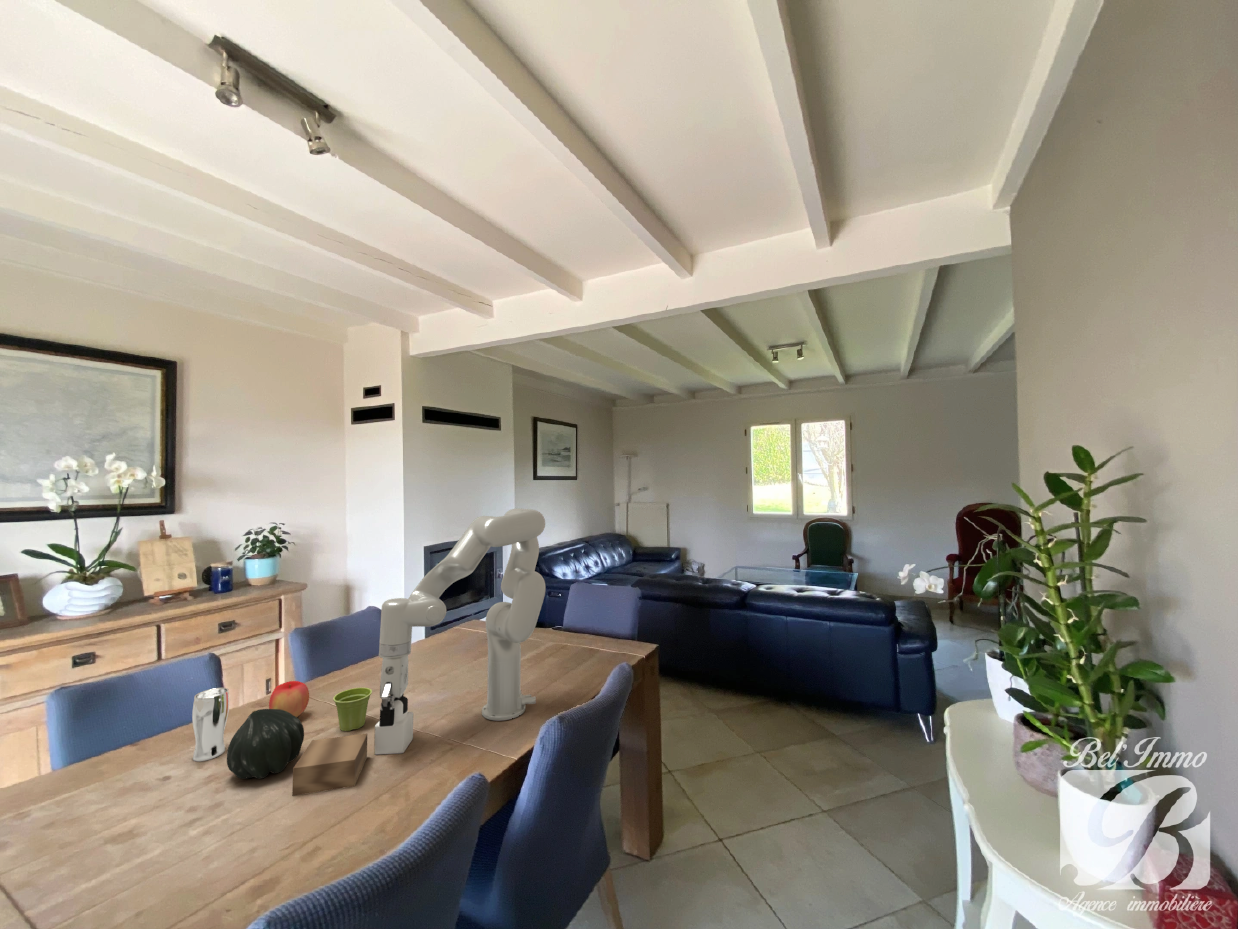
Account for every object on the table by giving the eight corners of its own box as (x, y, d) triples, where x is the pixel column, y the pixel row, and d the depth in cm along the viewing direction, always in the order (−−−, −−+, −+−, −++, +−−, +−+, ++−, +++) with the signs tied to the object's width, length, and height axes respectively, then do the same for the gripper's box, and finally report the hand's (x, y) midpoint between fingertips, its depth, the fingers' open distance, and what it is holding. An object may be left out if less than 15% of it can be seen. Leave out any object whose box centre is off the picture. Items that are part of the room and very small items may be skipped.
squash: (326, 726, 122) (283, 684, 120) (297, 761, 107) (248, 714, 106) (280, 767, 120) (236, 726, 118) (244, 809, 105) (193, 762, 104)
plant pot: (354, 736, 127) (355, 703, 128) (324, 733, 129) (325, 700, 130) (378, 720, 137) (379, 689, 137) (350, 716, 138) (350, 686, 139)
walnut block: (366, 758, 118) (367, 733, 118) (354, 787, 106) (355, 759, 106) (311, 766, 114) (312, 740, 115) (292, 797, 103) (293, 768, 103)
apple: (260, 723, 135) (262, 687, 135) (296, 709, 143) (297, 675, 144) (279, 731, 130) (281, 693, 131) (315, 716, 139) (316, 681, 139)
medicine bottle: (385, 740, 125) (386, 693, 126) (413, 739, 126) (414, 692, 127) (373, 755, 118) (374, 705, 119) (403, 753, 119) (404, 704, 120)
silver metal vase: (233, 750, 121) (236, 689, 122) (202, 765, 114) (205, 700, 115) (215, 745, 123) (218, 685, 124) (183, 759, 117) (186, 696, 117)
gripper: (403, 658, 116) (399, 732, 115) (417, 638, 133) (414, 701, 131) (369, 660, 114) (365, 734, 113) (388, 639, 131) (384, 703, 130)
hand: (391, 717), depth 122 cm, fingers open, 9 cm apart
